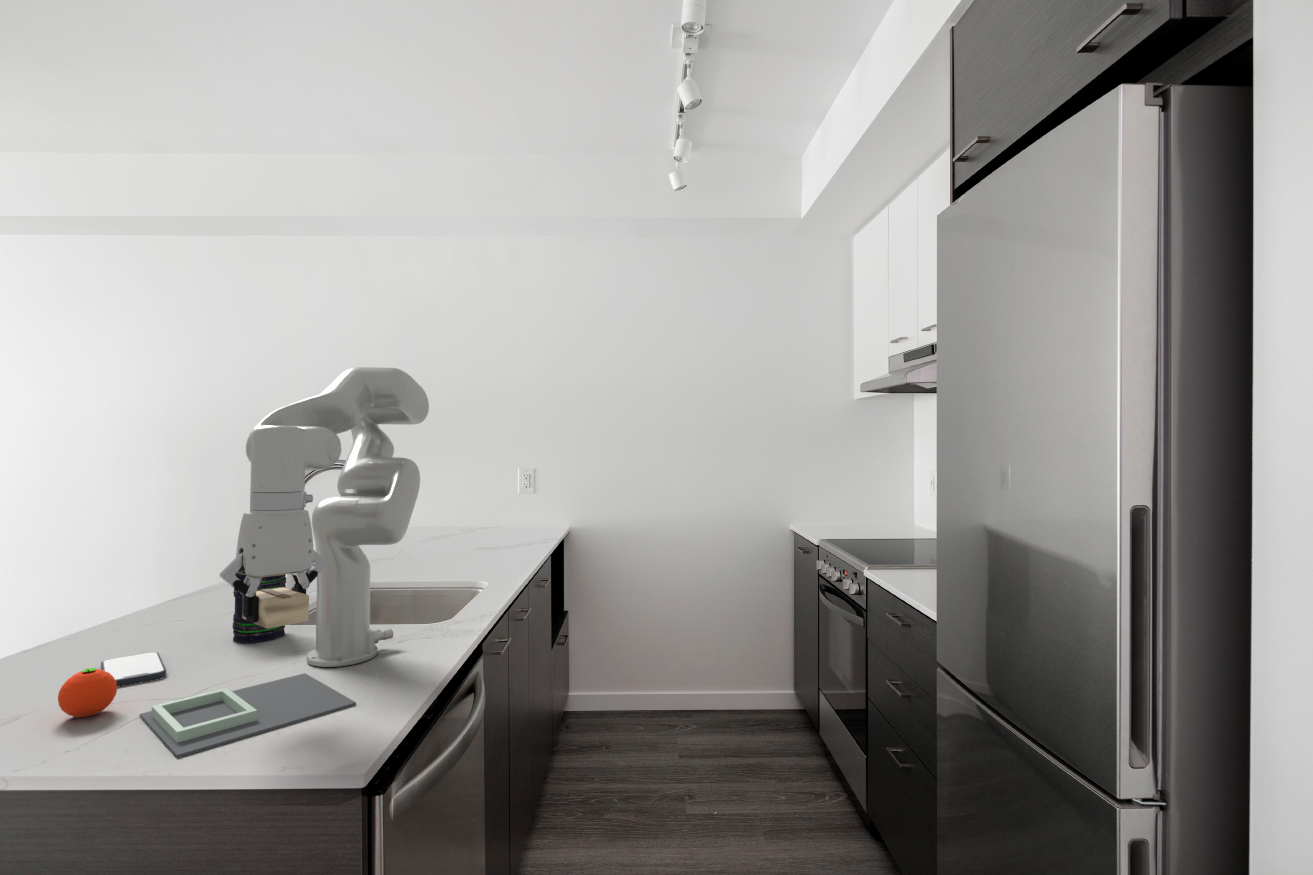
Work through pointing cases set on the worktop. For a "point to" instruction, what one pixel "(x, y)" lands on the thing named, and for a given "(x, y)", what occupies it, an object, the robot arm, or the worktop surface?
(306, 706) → the rubber mat
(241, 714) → the tray frame
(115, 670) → the smartphone
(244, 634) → the storage jar
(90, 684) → the clementine
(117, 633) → the worktop surface
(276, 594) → the wooden block
